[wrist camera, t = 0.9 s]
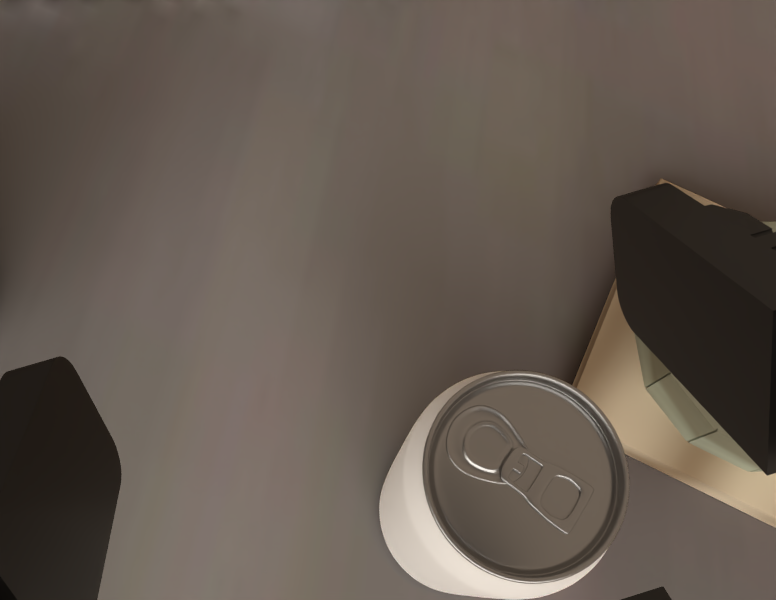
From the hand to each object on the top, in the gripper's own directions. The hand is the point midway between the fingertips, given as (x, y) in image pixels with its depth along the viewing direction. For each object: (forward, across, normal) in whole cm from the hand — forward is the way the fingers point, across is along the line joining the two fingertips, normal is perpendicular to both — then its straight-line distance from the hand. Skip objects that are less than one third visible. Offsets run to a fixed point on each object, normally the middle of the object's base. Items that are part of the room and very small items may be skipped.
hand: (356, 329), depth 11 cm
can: (+13, -2, +18) cm, 22 cm away
